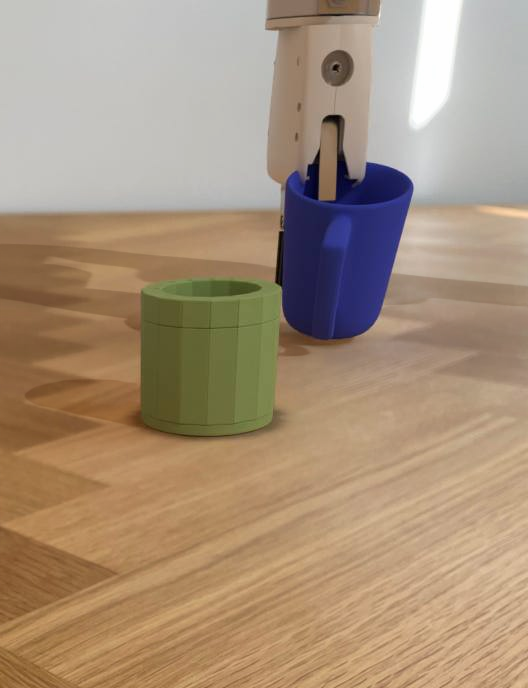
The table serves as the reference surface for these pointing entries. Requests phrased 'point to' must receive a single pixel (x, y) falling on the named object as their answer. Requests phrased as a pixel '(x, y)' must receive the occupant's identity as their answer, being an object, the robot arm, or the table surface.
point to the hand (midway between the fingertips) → (298, 287)
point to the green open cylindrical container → (209, 354)
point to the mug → (341, 250)
